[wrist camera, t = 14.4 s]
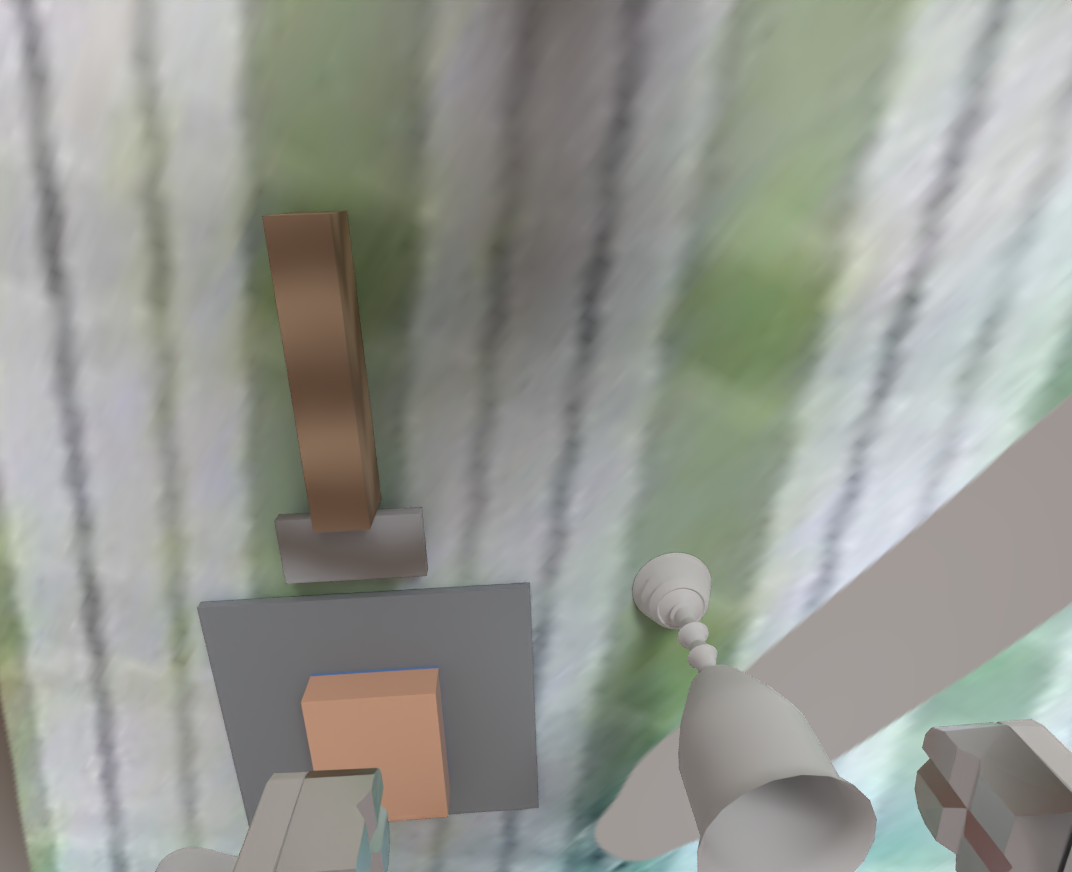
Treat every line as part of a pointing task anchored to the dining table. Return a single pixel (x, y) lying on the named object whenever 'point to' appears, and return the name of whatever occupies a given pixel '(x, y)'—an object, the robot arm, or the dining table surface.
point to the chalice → (750, 752)
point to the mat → (376, 644)
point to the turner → (333, 413)
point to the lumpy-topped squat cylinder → (197, 861)
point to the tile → (383, 734)
